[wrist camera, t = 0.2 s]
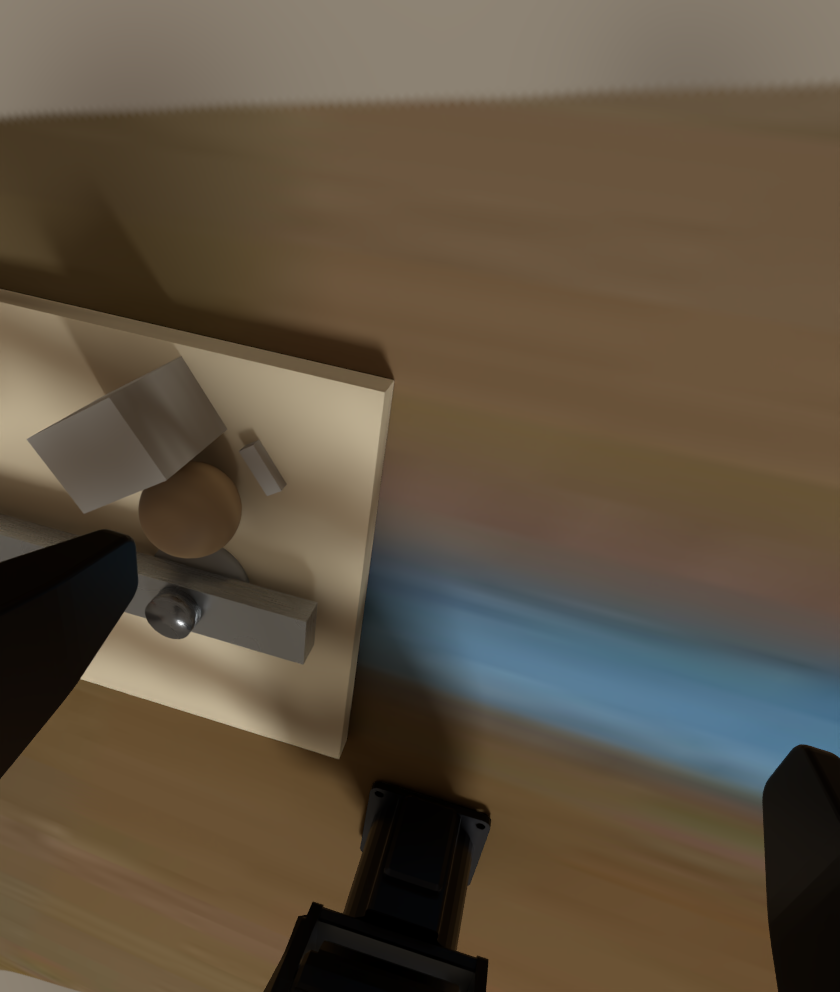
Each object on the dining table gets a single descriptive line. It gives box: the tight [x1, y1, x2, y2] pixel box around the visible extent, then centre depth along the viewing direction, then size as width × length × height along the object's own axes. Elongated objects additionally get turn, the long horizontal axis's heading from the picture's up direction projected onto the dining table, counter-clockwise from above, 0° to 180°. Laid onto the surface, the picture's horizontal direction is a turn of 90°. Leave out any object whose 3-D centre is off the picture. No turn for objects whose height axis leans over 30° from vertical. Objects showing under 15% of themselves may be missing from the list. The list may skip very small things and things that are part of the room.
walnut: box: [138, 461, 242, 558], centre depth 24 cm, size 4×4×4 cm
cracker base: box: [0, 289, 394, 759], centre depth 27 cm, size 20×22×5 cm
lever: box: [0, 513, 318, 665], centre depth 25 cm, size 21×3×7 cm, turn 81°
